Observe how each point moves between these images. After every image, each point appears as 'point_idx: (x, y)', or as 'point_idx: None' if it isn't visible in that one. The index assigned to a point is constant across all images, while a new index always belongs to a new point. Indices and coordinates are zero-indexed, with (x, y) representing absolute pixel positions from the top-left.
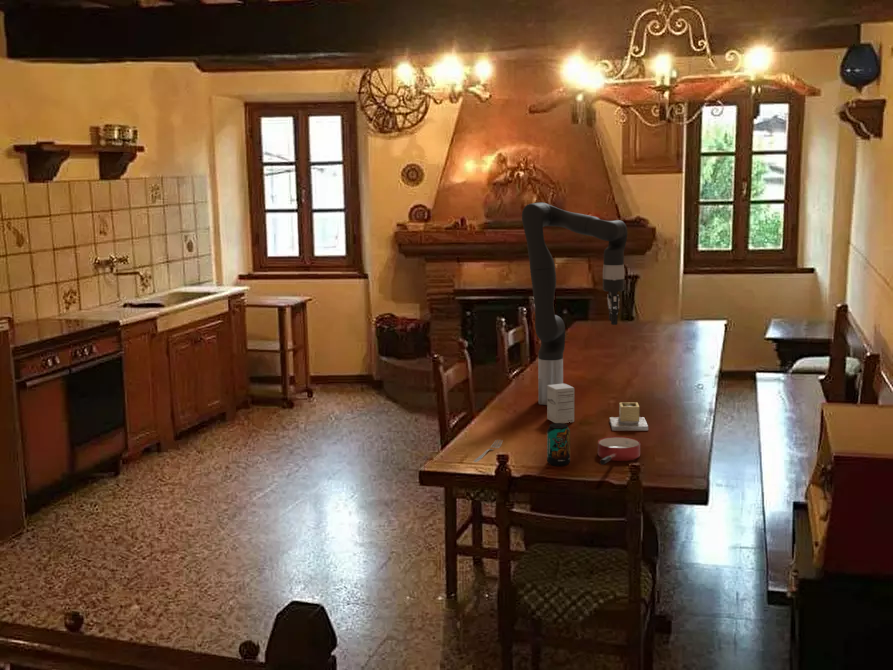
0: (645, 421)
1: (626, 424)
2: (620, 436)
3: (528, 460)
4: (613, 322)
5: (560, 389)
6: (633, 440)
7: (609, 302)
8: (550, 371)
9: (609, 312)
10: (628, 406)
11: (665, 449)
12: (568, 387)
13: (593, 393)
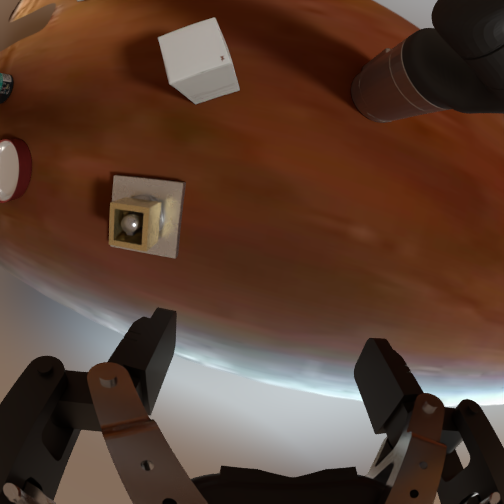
0: (143, 251)
1: None
2: (18, 176)
3: (23, 50)
4: (137, 327)
5: (160, 47)
6: (11, 195)
7: (133, 501)
8: (385, 62)
9: (396, 381)
10: (112, 221)
11: (33, 241)
12: (171, 68)
13: (430, 214)
